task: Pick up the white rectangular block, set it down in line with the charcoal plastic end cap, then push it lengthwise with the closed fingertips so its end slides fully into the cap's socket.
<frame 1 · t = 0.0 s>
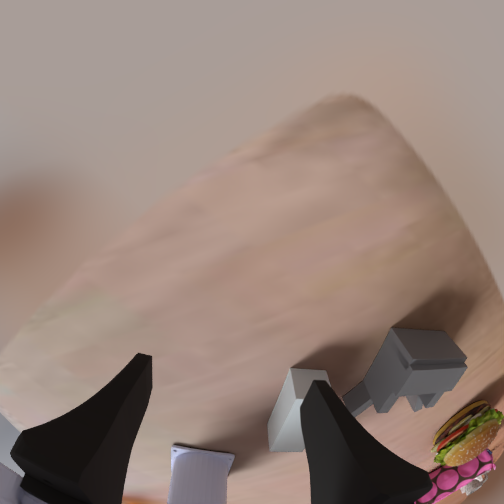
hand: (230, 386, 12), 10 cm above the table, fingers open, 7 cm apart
pencil case: (445, 463, 40), on the table
white rectangular block: (294, 398, 26), on the table
endcap: (402, 361, 25), on the table
food: (460, 421, 32), on the table
mug: (472, 475, 53), on the table
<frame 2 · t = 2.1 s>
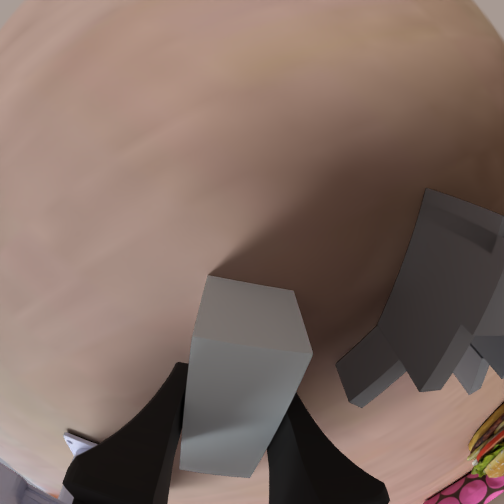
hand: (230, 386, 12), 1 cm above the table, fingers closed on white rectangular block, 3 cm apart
pencil case: (470, 471, 27), on the table
white rectangular block: (231, 364, 13), on the table, touching gripper
endcap: (451, 285, 12), on the table
food: (503, 414, 19), on the table
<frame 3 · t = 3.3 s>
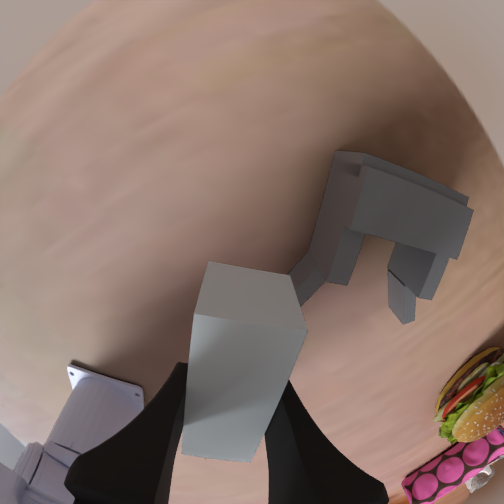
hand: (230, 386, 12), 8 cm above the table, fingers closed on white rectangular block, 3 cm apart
bracket: (469, 456, 38), on the table
pencil case: (448, 449, 33), on the table
white rectangular block: (231, 349, 14), point 6 cm above the table, touching gripper
endcap: (369, 225, 18), on the table
food: (470, 381, 26), on the table
mug: (477, 470, 46), on the table
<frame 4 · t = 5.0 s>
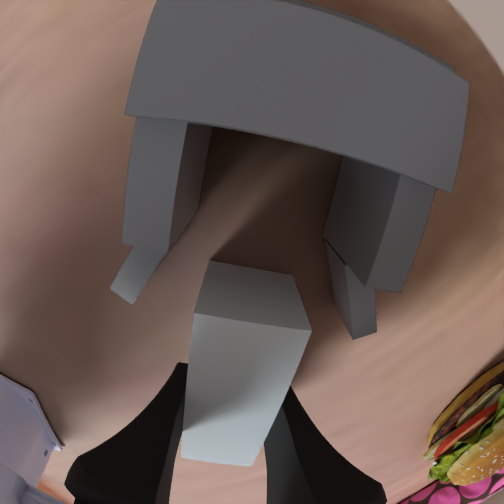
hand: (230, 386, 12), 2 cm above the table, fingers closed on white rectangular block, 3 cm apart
pencil case: (445, 473, 26), on the table
white rectangular block: (232, 351, 13), on the table, touching gripper
endcap: (276, 156, 10), on the table
food: (476, 403, 18), on the table
when the fingers open (2 cm above the table, at t = 5.3 s): white rectangular block stays where it is, on the table.
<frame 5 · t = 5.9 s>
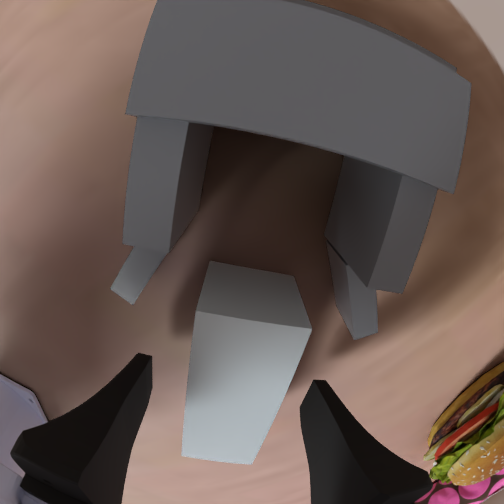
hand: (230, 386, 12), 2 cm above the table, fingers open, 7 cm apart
pencil case: (445, 474, 25), on the table
white rectangular block: (233, 349, 14), on the table
endcap: (277, 156, 10), on the table
food: (476, 404, 18), on the table
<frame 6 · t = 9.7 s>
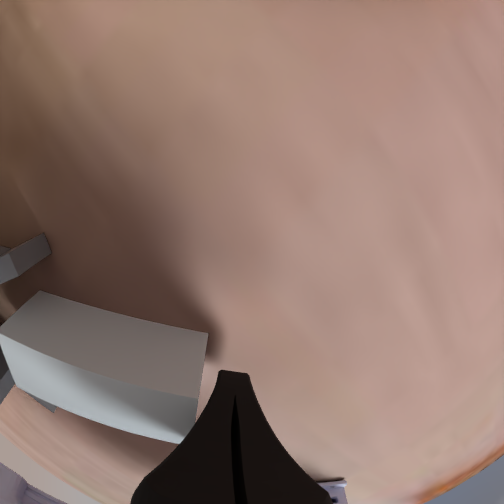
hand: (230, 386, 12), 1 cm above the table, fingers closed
white rectangular block: (116, 340, 13), on the table, touching gripper
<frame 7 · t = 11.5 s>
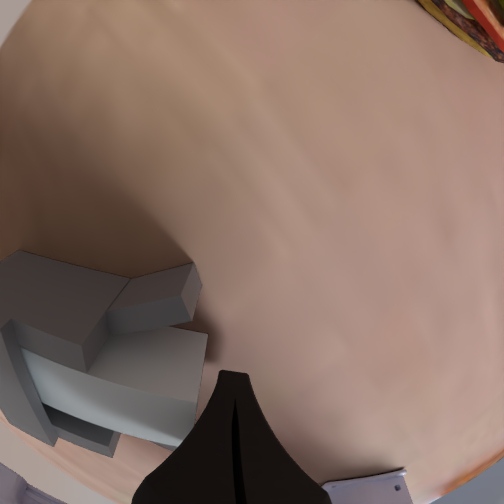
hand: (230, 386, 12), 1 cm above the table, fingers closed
white rectangular block: (114, 341, 12), on the table, touching endcap, gripper
endcap: (85, 332, 12), on the table
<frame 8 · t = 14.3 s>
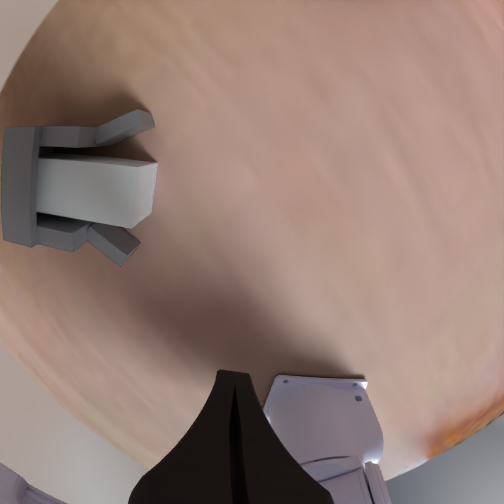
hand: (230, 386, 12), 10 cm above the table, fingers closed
white rectangular block: (98, 180, 18), on the table
endcap: (77, 177, 18), on the table
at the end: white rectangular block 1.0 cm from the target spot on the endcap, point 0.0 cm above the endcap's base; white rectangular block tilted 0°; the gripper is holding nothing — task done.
